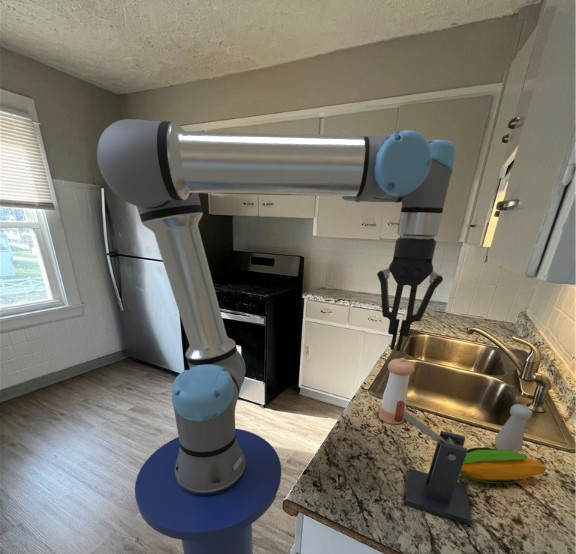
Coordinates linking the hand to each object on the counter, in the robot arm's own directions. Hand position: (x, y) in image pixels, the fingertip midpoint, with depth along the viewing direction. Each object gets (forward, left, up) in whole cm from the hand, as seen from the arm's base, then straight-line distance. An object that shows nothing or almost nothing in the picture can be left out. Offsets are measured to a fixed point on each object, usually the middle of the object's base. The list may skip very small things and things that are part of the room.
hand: (395, 348), depth 72 cm
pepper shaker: (+2, +13, -27) cm, 30 cm away
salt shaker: (+31, +10, -27) cm, 42 cm away
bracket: (+14, -14, -26) cm, 33 cm away
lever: (+8, -14, -12) cm, 20 cm away
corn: (+27, -2, -27) cm, 38 cm away
